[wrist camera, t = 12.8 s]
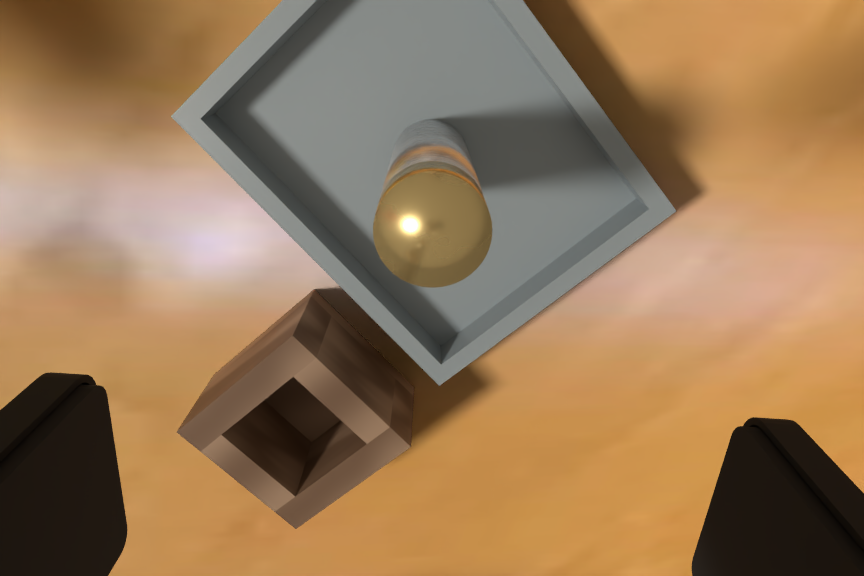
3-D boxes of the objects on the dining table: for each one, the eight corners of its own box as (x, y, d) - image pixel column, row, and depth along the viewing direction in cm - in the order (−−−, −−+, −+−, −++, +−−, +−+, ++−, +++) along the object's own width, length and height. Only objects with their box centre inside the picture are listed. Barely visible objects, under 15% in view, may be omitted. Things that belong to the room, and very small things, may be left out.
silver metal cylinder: (483, 161, 32) (516, 238, 20) (426, 209, 33) (427, 308, 21) (434, 102, 31) (438, 147, 19) (377, 154, 32) (347, 227, 20)
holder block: (414, 387, 39) (410, 446, 33) (314, 462, 41) (295, 528, 36) (314, 289, 36) (292, 335, 31) (213, 374, 38) (176, 432, 33)
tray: (656, 196, 34) (676, 211, 31) (439, 360, 38) (439, 385, 35) (420, -125, 28) (419, -142, 25) (193, 109, 32) (170, 116, 29)
